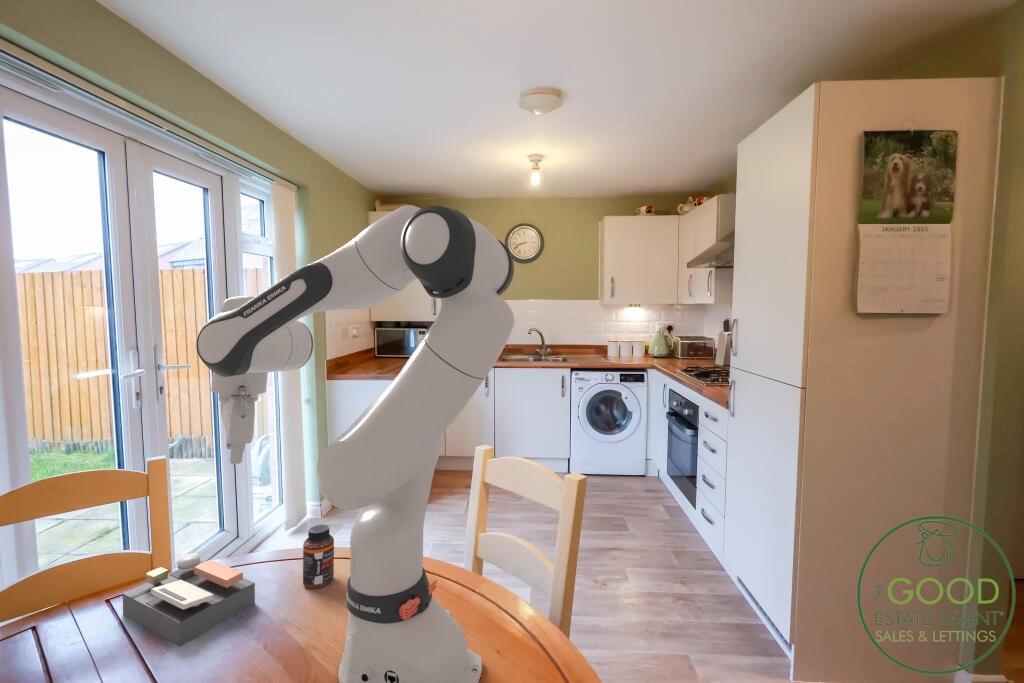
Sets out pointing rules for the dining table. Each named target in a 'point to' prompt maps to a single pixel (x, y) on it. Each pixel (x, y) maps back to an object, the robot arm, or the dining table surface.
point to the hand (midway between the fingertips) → (233, 455)
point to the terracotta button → (218, 573)
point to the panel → (191, 620)
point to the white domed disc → (188, 561)
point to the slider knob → (157, 576)
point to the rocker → (182, 594)
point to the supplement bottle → (318, 557)
